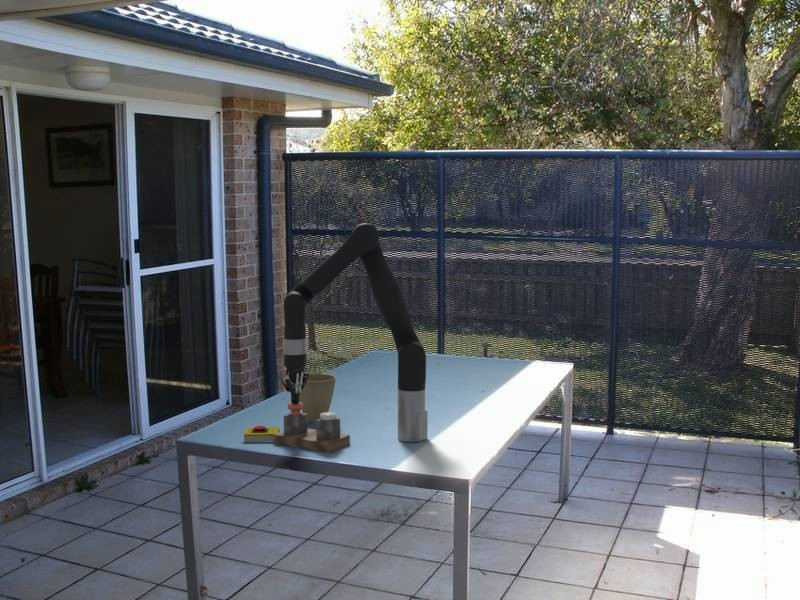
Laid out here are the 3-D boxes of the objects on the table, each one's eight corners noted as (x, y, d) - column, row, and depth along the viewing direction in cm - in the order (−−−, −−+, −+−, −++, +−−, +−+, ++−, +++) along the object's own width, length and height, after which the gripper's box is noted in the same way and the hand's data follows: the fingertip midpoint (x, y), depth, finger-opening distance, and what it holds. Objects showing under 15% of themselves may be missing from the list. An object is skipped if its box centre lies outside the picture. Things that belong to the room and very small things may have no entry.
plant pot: (325, 426, 288) (325, 382, 287) (288, 422, 294) (287, 379, 292) (342, 416, 302) (342, 375, 301) (306, 413, 308) (306, 372, 306)
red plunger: (306, 422, 270) (306, 402, 269) (297, 426, 265) (297, 406, 265) (293, 421, 272) (293, 401, 272) (284, 424, 268) (284, 404, 267)
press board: (349, 443, 266) (349, 416, 265) (329, 452, 256) (329, 425, 255) (295, 435, 277) (295, 409, 276) (273, 443, 266) (273, 416, 265)
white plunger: (339, 433, 264) (339, 413, 263) (330, 437, 259) (330, 416, 259) (326, 431, 266) (326, 411, 266) (317, 435, 262) (317, 414, 261)
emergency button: (242, 423, 276) (286, 423, 278) (242, 436, 277) (286, 435, 278) (238, 431, 267) (284, 430, 268) (239, 444, 268) (284, 443, 269)
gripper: (292, 355, 259) (292, 409, 261) (315, 350, 270) (316, 401, 272) (273, 353, 262) (274, 406, 264) (297, 348, 274) (297, 398, 276)
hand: (295, 403), depth 268 cm, fingers closed
